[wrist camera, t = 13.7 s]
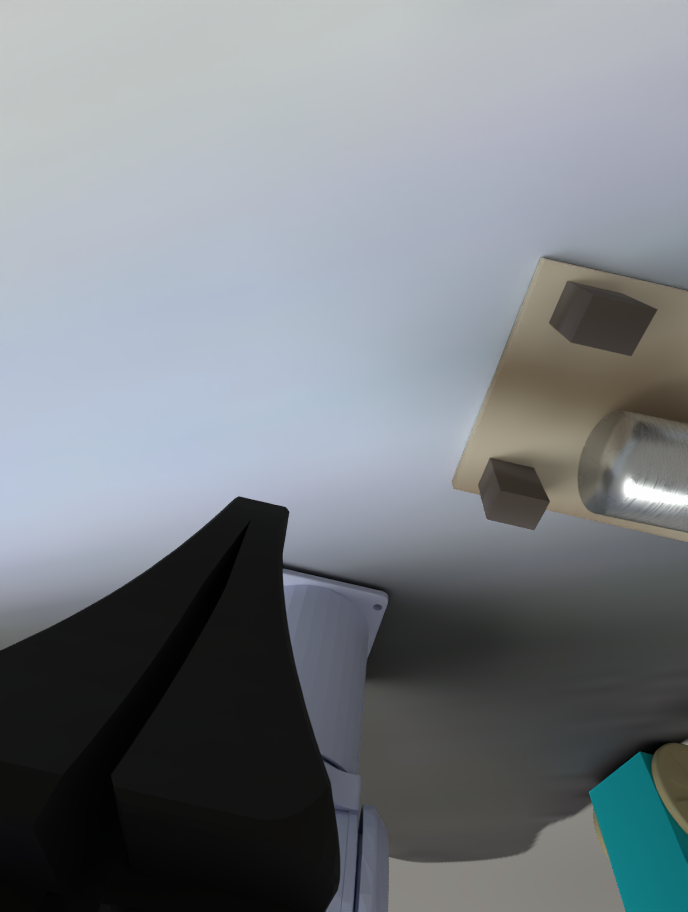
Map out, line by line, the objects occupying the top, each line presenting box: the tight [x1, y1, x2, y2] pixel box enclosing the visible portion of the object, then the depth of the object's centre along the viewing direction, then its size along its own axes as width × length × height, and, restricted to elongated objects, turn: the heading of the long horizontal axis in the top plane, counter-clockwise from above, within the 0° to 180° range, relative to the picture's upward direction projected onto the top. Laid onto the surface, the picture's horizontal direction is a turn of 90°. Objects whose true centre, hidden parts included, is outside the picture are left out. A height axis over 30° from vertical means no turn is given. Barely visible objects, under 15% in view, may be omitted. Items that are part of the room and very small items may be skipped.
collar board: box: [452, 257, 688, 542], centre depth 17 cm, size 10×14×4 cm
